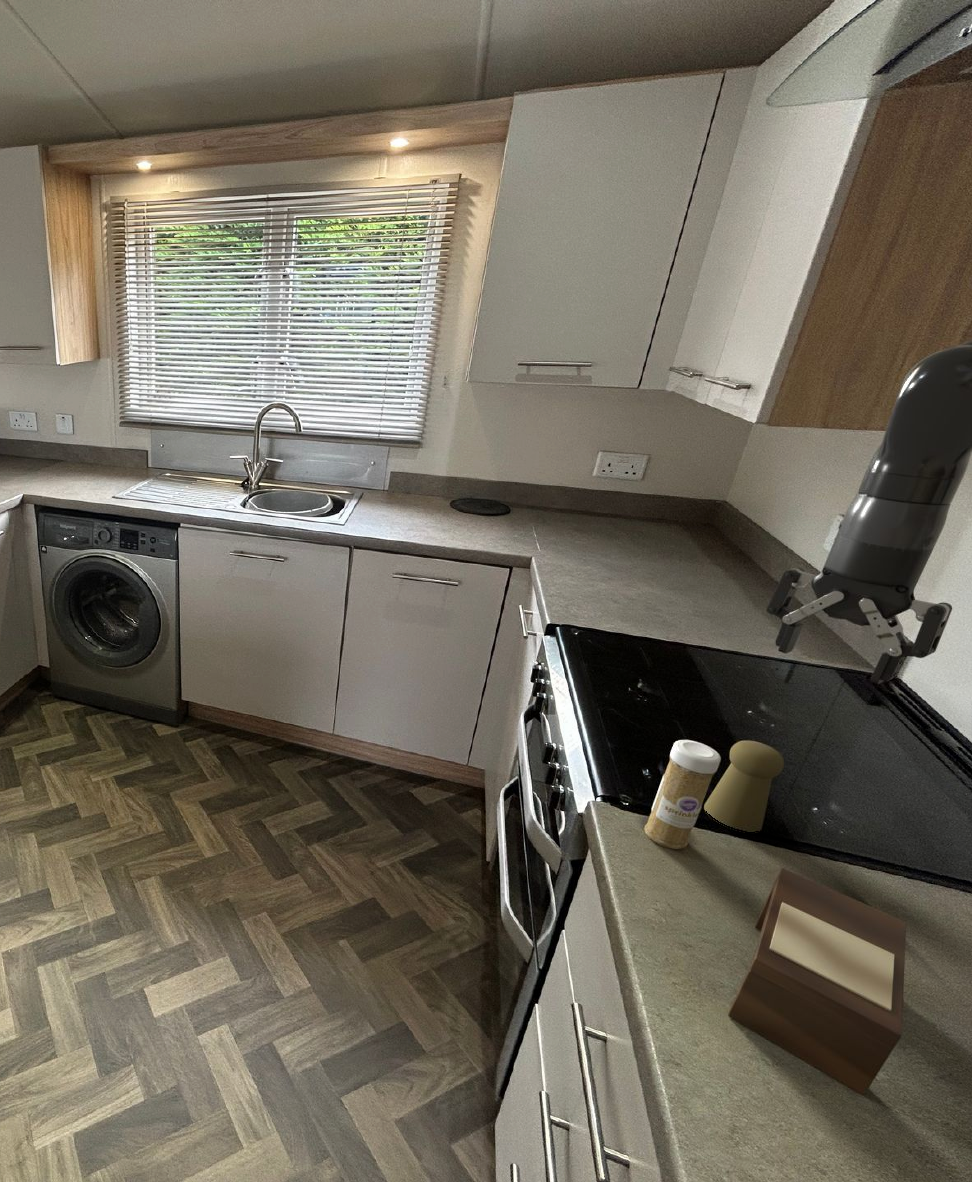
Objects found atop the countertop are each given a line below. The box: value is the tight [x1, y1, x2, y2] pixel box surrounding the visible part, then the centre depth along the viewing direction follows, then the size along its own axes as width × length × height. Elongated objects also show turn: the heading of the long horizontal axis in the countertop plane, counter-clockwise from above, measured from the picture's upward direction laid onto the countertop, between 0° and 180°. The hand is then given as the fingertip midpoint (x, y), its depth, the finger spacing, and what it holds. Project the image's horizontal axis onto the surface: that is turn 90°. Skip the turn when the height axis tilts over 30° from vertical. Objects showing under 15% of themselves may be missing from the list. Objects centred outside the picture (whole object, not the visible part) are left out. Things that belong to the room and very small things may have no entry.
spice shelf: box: [727, 867, 907, 1096], centre depth 59 cm, size 16×9×8 cm, turn 132°
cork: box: [703, 740, 785, 833], centre depth 82 cm, size 6×6×11 cm
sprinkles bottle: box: [644, 739, 722, 850], centre depth 78 cm, size 5×5×13 cm
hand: (828, 665), depth 76 cm, fingers open, 8 cm apart
